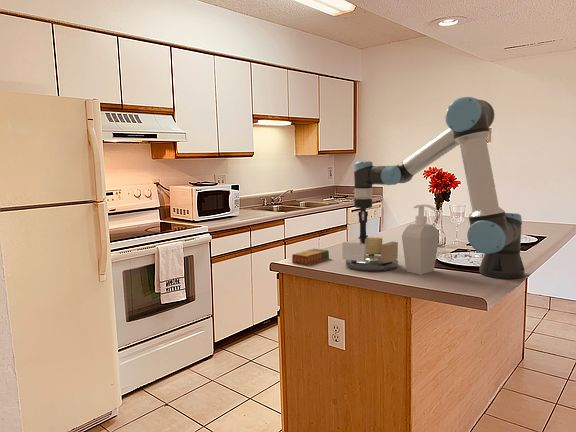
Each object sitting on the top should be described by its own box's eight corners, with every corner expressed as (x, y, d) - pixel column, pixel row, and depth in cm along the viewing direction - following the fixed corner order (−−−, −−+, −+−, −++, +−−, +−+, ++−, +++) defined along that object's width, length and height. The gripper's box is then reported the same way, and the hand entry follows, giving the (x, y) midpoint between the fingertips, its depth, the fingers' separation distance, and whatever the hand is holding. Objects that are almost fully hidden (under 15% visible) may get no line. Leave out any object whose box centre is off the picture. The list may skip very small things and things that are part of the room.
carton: (291, 263, 190) (291, 253, 190) (314, 257, 203) (314, 247, 202) (307, 266, 185) (307, 255, 185) (329, 259, 197) (329, 249, 197)
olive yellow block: (382, 255, 191) (382, 237, 190) (382, 256, 188) (382, 238, 187) (360, 254, 192) (360, 237, 191) (360, 256, 190) (360, 238, 189)
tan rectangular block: (391, 260, 182) (391, 241, 181) (397, 260, 180) (397, 242, 179) (380, 264, 175) (381, 244, 174) (386, 265, 173) (387, 245, 172)
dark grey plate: (405, 270, 174) (405, 263, 173) (353, 272, 171) (353, 265, 171) (387, 258, 194) (387, 252, 194) (340, 260, 192) (340, 254, 192)
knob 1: (365, 262, 179) (365, 243, 178) (364, 263, 177) (364, 244, 176) (344, 260, 183) (344, 241, 182) (342, 261, 181) (342, 242, 180)
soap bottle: (423, 276, 164) (425, 206, 161) (401, 271, 172) (402, 205, 169) (442, 271, 172) (444, 204, 168) (420, 266, 179) (421, 202, 176)
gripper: (354, 196, 196) (354, 249, 199) (353, 199, 181) (353, 256, 184) (372, 196, 195) (371, 249, 197) (372, 199, 180) (372, 256, 183)
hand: (363, 252), depth 191 cm, fingers closed on olive yellow block, 2 cm apart
